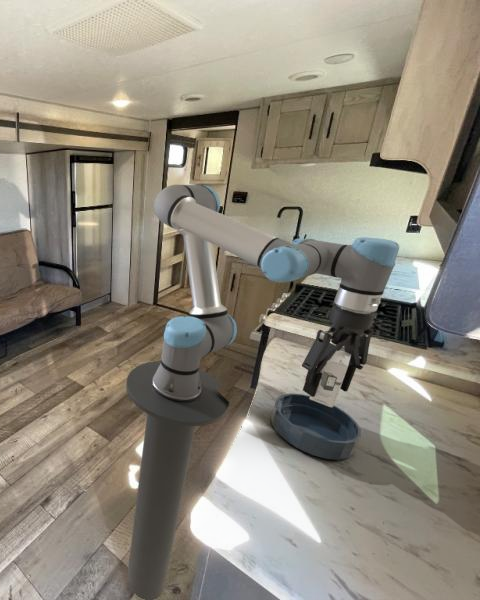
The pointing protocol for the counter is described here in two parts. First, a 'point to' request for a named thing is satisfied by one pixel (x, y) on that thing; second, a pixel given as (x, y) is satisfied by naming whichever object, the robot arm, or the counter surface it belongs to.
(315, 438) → the bowl
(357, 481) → the counter surface
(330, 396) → the ink box
